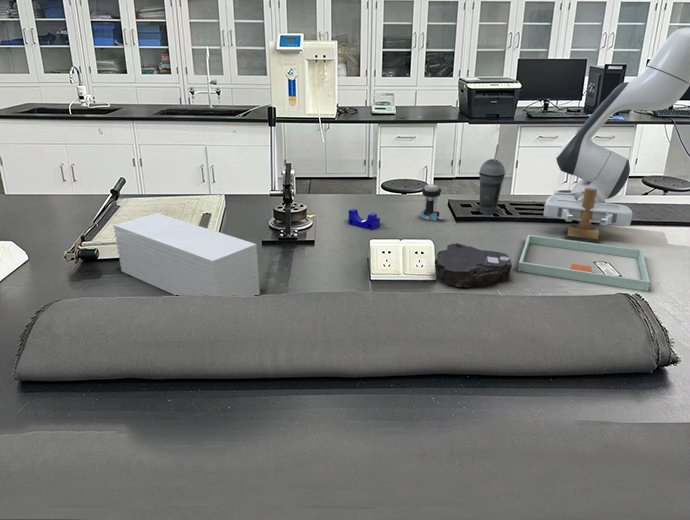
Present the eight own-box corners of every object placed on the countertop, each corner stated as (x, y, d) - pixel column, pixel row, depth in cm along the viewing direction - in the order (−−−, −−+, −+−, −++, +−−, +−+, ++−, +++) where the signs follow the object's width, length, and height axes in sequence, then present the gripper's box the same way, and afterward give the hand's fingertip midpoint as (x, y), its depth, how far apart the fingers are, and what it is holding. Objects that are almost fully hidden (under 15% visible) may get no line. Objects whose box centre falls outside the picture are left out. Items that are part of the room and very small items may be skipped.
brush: (596, 239, 136) (606, 188, 132) (597, 244, 131) (607, 192, 127) (567, 235, 138) (575, 186, 134) (566, 240, 134) (575, 189, 130)
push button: (446, 221, 149) (449, 186, 145) (437, 225, 145) (440, 190, 141) (425, 216, 153) (428, 182, 149) (416, 221, 149) (418, 186, 145)
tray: (639, 260, 123) (642, 249, 122) (647, 293, 107) (650, 282, 106) (526, 244, 132) (527, 234, 131) (517, 273, 116) (518, 262, 115)
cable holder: (379, 226, 144) (380, 212, 143) (372, 230, 142) (372, 215, 140) (356, 220, 149) (356, 207, 147) (348, 224, 146) (348, 210, 145)
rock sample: (465, 299, 104) (467, 276, 102) (414, 271, 116) (415, 250, 115) (525, 279, 113) (528, 258, 111) (472, 255, 125) (474, 236, 123)
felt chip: (590, 271, 115) (591, 266, 115) (590, 278, 112) (591, 273, 112) (570, 268, 117) (571, 263, 116) (570, 275, 113) (571, 270, 113)
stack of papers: (121, 271, 116) (113, 224, 112) (163, 257, 124) (157, 212, 120) (218, 314, 98) (212, 260, 94) (259, 294, 106) (256, 243, 102)
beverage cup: (491, 207, 161) (499, 140, 153) (505, 214, 155) (514, 145, 147) (470, 209, 159) (477, 142, 151) (483, 216, 153) (491, 146, 145)
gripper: (628, 221, 137) (631, 238, 125) (544, 212, 144) (540, 227, 133) (633, 198, 135) (637, 213, 123) (548, 189, 142) (544, 203, 130)
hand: (586, 220), depth 128 cm, fingers open, 6 cm apart
